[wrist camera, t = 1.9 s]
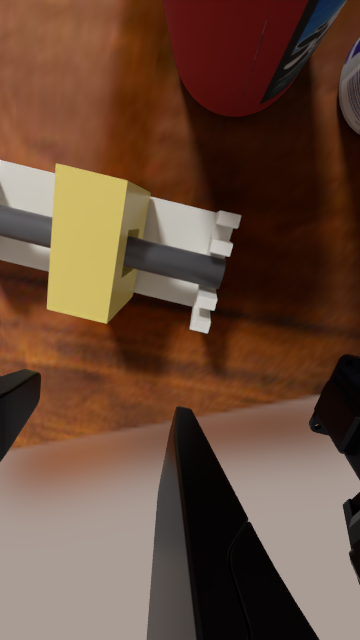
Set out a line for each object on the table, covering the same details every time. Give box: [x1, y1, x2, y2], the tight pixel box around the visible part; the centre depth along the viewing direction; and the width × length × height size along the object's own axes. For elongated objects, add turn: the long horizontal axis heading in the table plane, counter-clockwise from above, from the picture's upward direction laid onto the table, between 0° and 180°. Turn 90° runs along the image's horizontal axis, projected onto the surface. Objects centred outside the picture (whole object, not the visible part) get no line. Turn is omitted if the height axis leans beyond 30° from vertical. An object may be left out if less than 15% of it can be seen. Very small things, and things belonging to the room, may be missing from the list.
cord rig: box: [0, 160, 241, 334], centre depth 16 cm, size 16×6×5 cm, turn 77°
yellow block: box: [47, 163, 151, 324], centre depth 15 cm, size 3×6×5 cm, turn 167°
